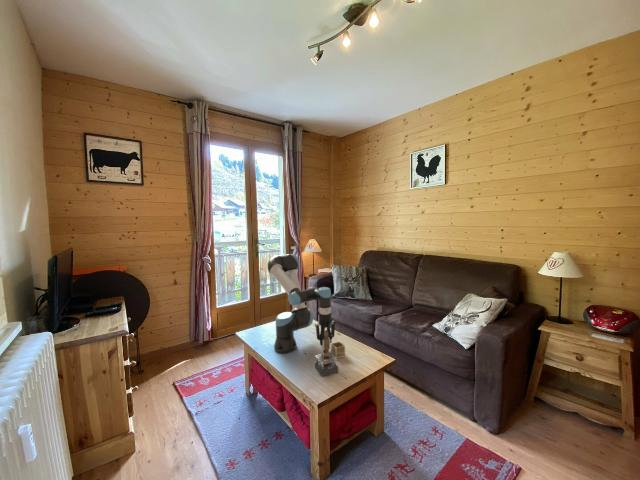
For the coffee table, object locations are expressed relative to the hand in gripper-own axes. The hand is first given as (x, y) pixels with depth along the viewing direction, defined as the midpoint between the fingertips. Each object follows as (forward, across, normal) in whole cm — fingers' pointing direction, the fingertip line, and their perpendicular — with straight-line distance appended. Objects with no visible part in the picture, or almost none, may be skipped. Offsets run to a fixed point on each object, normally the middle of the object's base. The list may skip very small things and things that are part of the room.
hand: (325, 348), depth 169 cm
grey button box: (+7, -5, -11) cm, 14 cm away
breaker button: (+2, -5, -11) cm, 12 cm away
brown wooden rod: (+7, 0, 0) cm, 7 cm away
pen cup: (+7, +9, +1) cm, 11 cm away
